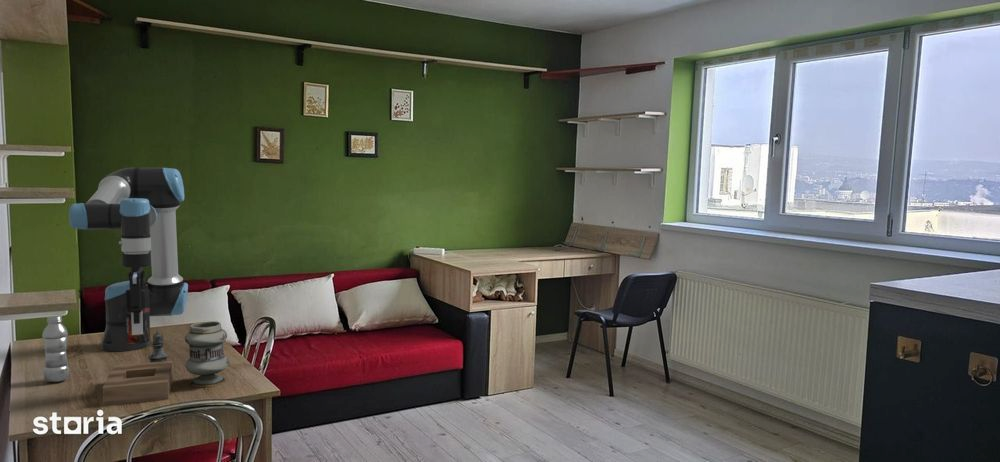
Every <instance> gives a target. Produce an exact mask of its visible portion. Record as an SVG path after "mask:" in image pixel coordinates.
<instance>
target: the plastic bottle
mask: <svg viewBox="0 0 1000 462" xmlns="http://www.w3.org/2000/svg"><path fill="white" fill-rule="evenodd" d="M46 324H47V325H46V326H45V328H44V329H43V331H42V335H41V337H42V339H43V345H44V353H45V354H44V355H45V359H44V368H43V372H42V373H43V374H42V375H43V378H44V381H46V382H48V383H59V382H63V381H66V380H67V379H68V378H69V377H70V372H71V371H70V366H69V364H68V363H69V362H68V357H67V356H68V355H67V349H68V340H69V339H68V336H69V331H68V329H67V327H66V326H65V325H64V324H63V315H62V316H57V317H47V316H46Z"/></svg>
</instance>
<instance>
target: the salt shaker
mask: <svg viewBox="0 0 1000 462" xmlns="http://www.w3.org/2000/svg"><path fill="white" fill-rule="evenodd" d="M163 338H164V336H163V334H162V333H160V331H159V330H156V332H155V333H154V334H153V335H152V344H151V346H152V354H150V355H148V356H147V357H148V359H149V360H148V361H149V363H152V362H164V361H168V357H169V353H165V352H164V351H165V350H164V345H165V343H164V339H163Z"/></svg>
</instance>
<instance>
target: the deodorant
mask: <svg viewBox="0 0 1000 462" xmlns="http://www.w3.org/2000/svg"><path fill="white" fill-rule="evenodd" d="M141 309H142V320H143V334H139V335H132V321H131V313H128V310H130V289H129V290H126V316H127V343H129V344H141V343H146V342H149V343H150V342H151V321H150V317H151V316H150V312H149V289H144V288H143V289H141Z"/></svg>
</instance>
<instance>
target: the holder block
mask: <svg viewBox="0 0 1000 462" xmlns="http://www.w3.org/2000/svg"><path fill="white" fill-rule="evenodd" d="M173 379H174V362H173V360H166V361H164V362H152V363H151V362H141V363H129V364H116V365H113V367H112V369H111V370H110V373H109V375H108V376H107V379H106V380H105V383H104V384H103V386H102V405H103V406H113V405H121V404H124V405H125V404H132V403H142V402H152V401H162V400H163V401H164V400H169V397H170V392H171V389H172V384H173Z"/></svg>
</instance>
